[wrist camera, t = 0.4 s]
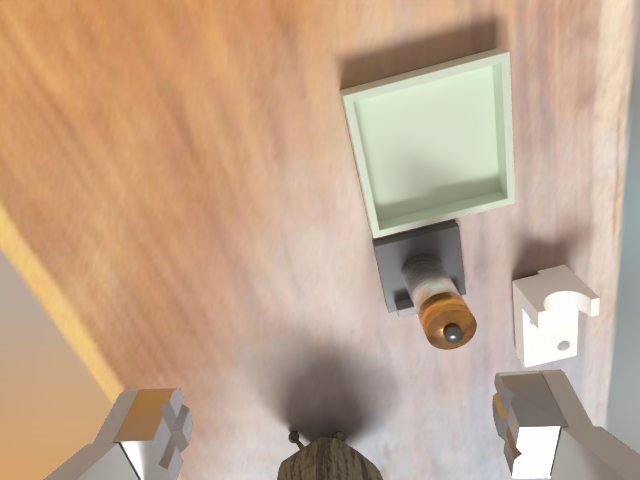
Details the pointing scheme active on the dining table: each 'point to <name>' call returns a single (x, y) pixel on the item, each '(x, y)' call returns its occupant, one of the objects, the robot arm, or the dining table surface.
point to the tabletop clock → (327, 461)
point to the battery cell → (438, 303)
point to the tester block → (407, 245)
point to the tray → (433, 142)
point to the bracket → (550, 314)
